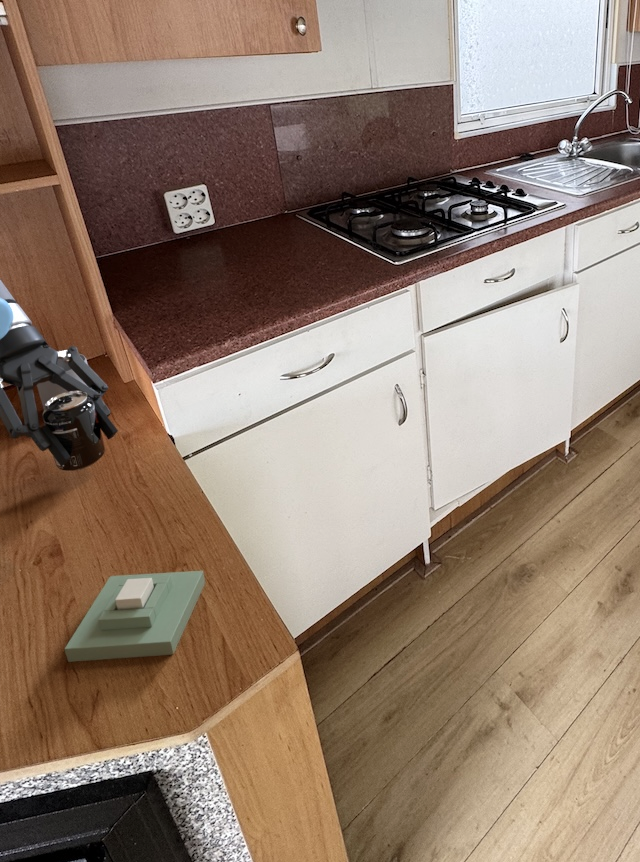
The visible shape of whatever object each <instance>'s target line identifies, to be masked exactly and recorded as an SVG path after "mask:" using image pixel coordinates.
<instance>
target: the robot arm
mask: <svg viewBox="0 0 640 862" xmlns="http://www.w3.org/2000/svg"><path fill="white" fill-rule="evenodd" d="M79 354H80V353H79V350H78V348H77V346H75V345H71V346H69V347H68V349H63V350H62V349H61V350H58V351H57V350H56V349H54V348H52V347H51V346H50V345H49V343H48V342H47V340H46V339H45V338H44V337H43V335H42V334H41V333H40V331H39V330H38V328H37V327H36V326H34V325H33V322H32V320H31V319H30V318H29V317H28V315H27V314H26V312H25V311H24V309H22V307H21V306H20V304H19V303H18V302H17V300H16V299H15V298H14V297H13V295H12V294H11V293H10V291H9V289H8V288H7V287H6V286H5V284H4V283H3V281H2V280H1V279H0V419H1V421H2V423H3V425H4V427H5V429H6V431H7V433H8V434H9V436H10V438H11V439H15V440H16V439H19V438H22V437H26V438H30V439H31V440H32V441H33V443H34V444H35V446H36V447H37V448H38V449H39V450H40V451H41V452H45V451H47V450H48V451H49V452H50V453H51V454H52V457H53V456H54V457H55V459H56V460H57V461H58V463H59V464H60V466H63V465H64V464H66V463H67V462H68V460H69V459H70V458H71V457H70V455H69V454H68V453H67V451H66V450H65V449H64V447H63V446H62V444H61V443H60V442H59V440H58V439H57V438H56V436H55V435H54V434H53V432H52V431H51V430H50V428H49V427H48V426H47V425H45V424H44V425H43V426H40V419H39V415H38V410H37V404H36V400H35V394H34V393H35V392H34V388H35V387H37V384H39V383H43V382H46V381H50V382H51V383H53V384H57V385H59V386H60V387H62V388H64V389H65V390H67V391H68V392H69V391H84V392H86V393H87V397H90V398H92V399H93V401H94V404H95V408H96V412H97V417H98V421H99V425H100V429H101V432H102V433H103V434H104V435H105V437H106V439H107V440H111V439H113V438H114V436H115V435H116V433H118V432H119V431H118V429H117V427H116V426H115V425H114V423H113V421H111V419H110V418H109V417H110V415H111V409H109V407H108V406H107V405H106V403H105V402H104V400H103V399H102V397H103V396H104V395H105V394H106V393H107V391H108V390H109V386H108V385H107V383H106V382H105V381H104V380H103V379H102V378H101V377H100V376H99V375H98V374H97V373H96V372H95V371H94V370H93V369H92V367H91V366H90V365H89V364H88V363H87V364H88V365H87V364H86V362H85V361H84V360H83V359H82V358H81V357H80V355H79ZM58 359H61V360H62V361H63V362H64V363H68V365H69V367H70V368H71V369H72V370H73V371H74V372H75V373H76V374H77V375H78V376H79V377H80V379H81V380H82V381H83V382H84V383H85V384H86V385H87V386H86V385H85V384H83V383H82V382H80V381H79V380H77V379H75V378H74V377H72V376H71V375H69V374H68V373H66V372H65V370H64V369H63V368H61V367H59V366H58V365H57V361H58ZM3 383H5V384H8V385H10V386H14V387H16V389H17V395H18V398H19V400H20V408H21V413H22V417H23V418H22V419H23V423H24V425H23V423H22V421H21V419H20V418H19V415H18V413H17V412H16V410H15V408H14V406H13V405H12V402H11V401H10V399H9V397H8V395H7V394H6V392H5V390H4V389H3V388H4V384H3ZM54 457H53V458H54Z"/></svg>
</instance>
